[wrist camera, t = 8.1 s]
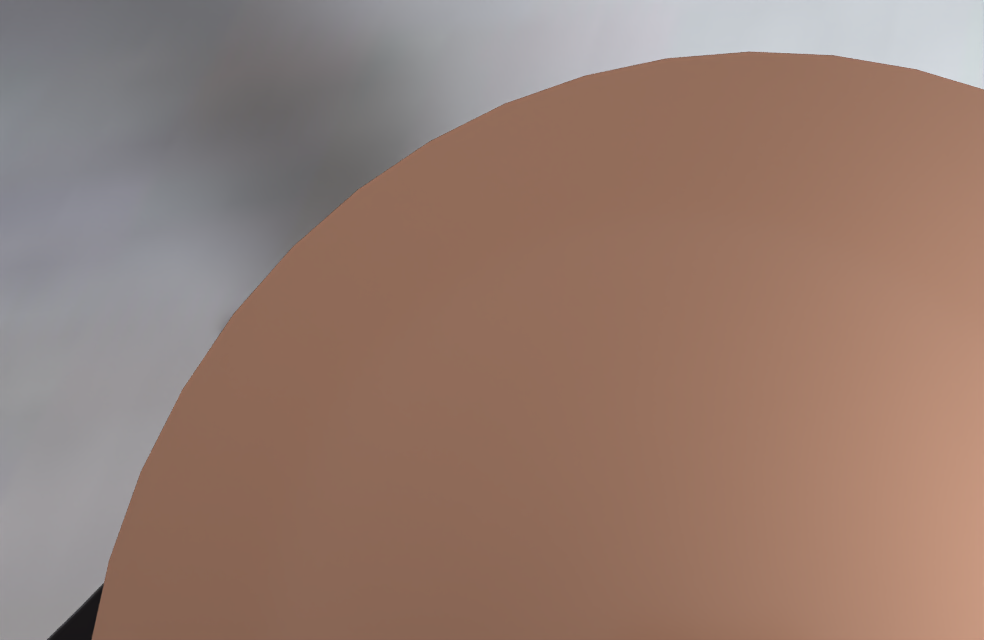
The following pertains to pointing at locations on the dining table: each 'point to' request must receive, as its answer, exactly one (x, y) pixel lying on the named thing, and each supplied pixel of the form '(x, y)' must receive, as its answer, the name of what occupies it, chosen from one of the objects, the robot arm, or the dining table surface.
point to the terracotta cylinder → (603, 381)
